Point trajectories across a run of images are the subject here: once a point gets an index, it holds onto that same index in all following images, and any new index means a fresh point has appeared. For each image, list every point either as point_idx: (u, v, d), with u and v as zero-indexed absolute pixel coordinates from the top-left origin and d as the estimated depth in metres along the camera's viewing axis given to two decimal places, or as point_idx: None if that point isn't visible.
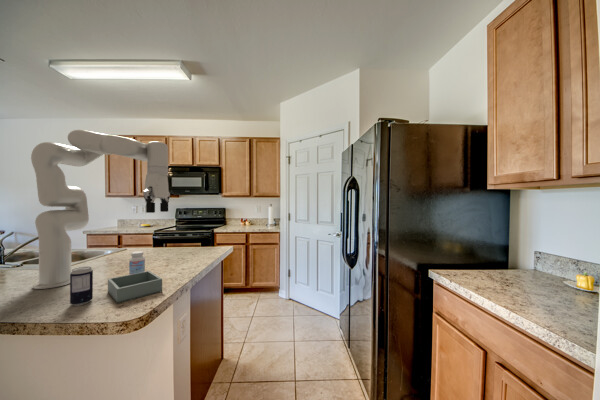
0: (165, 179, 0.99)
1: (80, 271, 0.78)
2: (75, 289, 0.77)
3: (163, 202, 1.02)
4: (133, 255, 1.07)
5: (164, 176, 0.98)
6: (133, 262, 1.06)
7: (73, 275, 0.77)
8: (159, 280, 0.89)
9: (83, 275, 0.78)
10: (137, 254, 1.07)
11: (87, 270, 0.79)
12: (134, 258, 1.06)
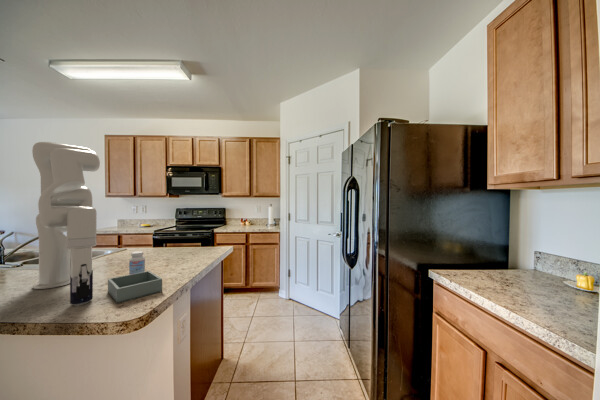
0: None
1: None
2: (75, 289, 0.77)
3: None
4: (133, 255, 1.07)
5: None
6: (133, 262, 1.06)
7: None
8: (159, 280, 0.89)
9: None
10: (137, 254, 1.07)
11: None
12: (134, 258, 1.06)
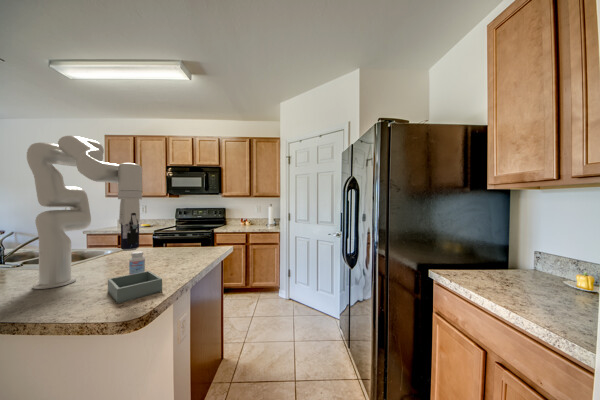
0: None
1: None
2: (126, 235, 0.86)
3: None
4: (133, 255, 1.07)
5: None
6: (133, 262, 1.06)
7: None
8: (159, 280, 0.89)
9: None
10: (137, 254, 1.07)
11: None
12: (134, 258, 1.06)
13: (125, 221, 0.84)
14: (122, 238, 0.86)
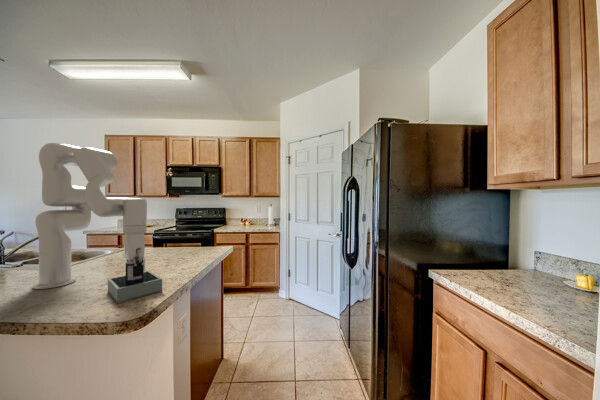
0: None
1: None
2: (130, 277, 0.87)
3: None
4: None
5: None
6: None
7: (128, 265, 0.87)
8: (159, 280, 0.89)
9: None
10: None
11: None
12: None
13: (130, 257, 0.85)
14: (127, 280, 0.87)
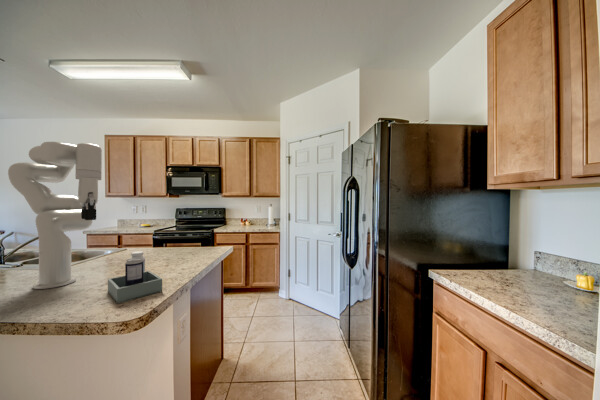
0: None
1: (134, 261, 0.88)
2: (130, 277, 0.87)
3: (86, 208, 0.93)
4: (133, 255, 1.07)
5: None
6: None
7: (128, 265, 0.87)
8: (159, 280, 0.89)
9: (137, 265, 0.88)
10: (137, 254, 1.07)
11: (139, 261, 0.89)
12: None
13: (81, 200, 0.85)
14: (127, 280, 0.87)
